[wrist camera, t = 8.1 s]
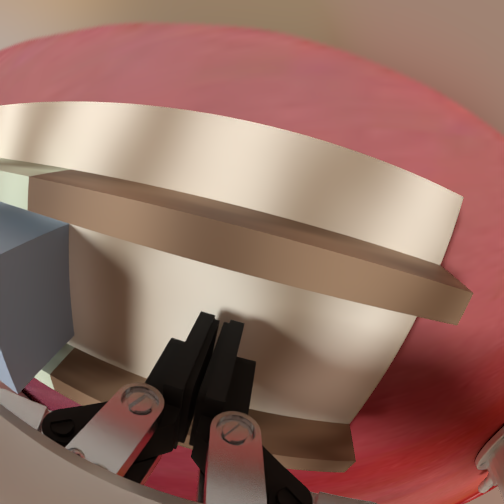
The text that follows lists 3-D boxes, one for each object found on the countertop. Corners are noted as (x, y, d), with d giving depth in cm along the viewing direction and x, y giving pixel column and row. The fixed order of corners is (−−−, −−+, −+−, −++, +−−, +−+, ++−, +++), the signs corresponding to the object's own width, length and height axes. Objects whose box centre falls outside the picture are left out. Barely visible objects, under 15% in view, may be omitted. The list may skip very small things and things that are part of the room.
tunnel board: (434, 188, 11) (503, 210, 6) (317, 430, 16) (321, 492, 11) (-42, 114, 11) (-84, 119, 7) (-39, 283, 17) (-71, 303, 12)
